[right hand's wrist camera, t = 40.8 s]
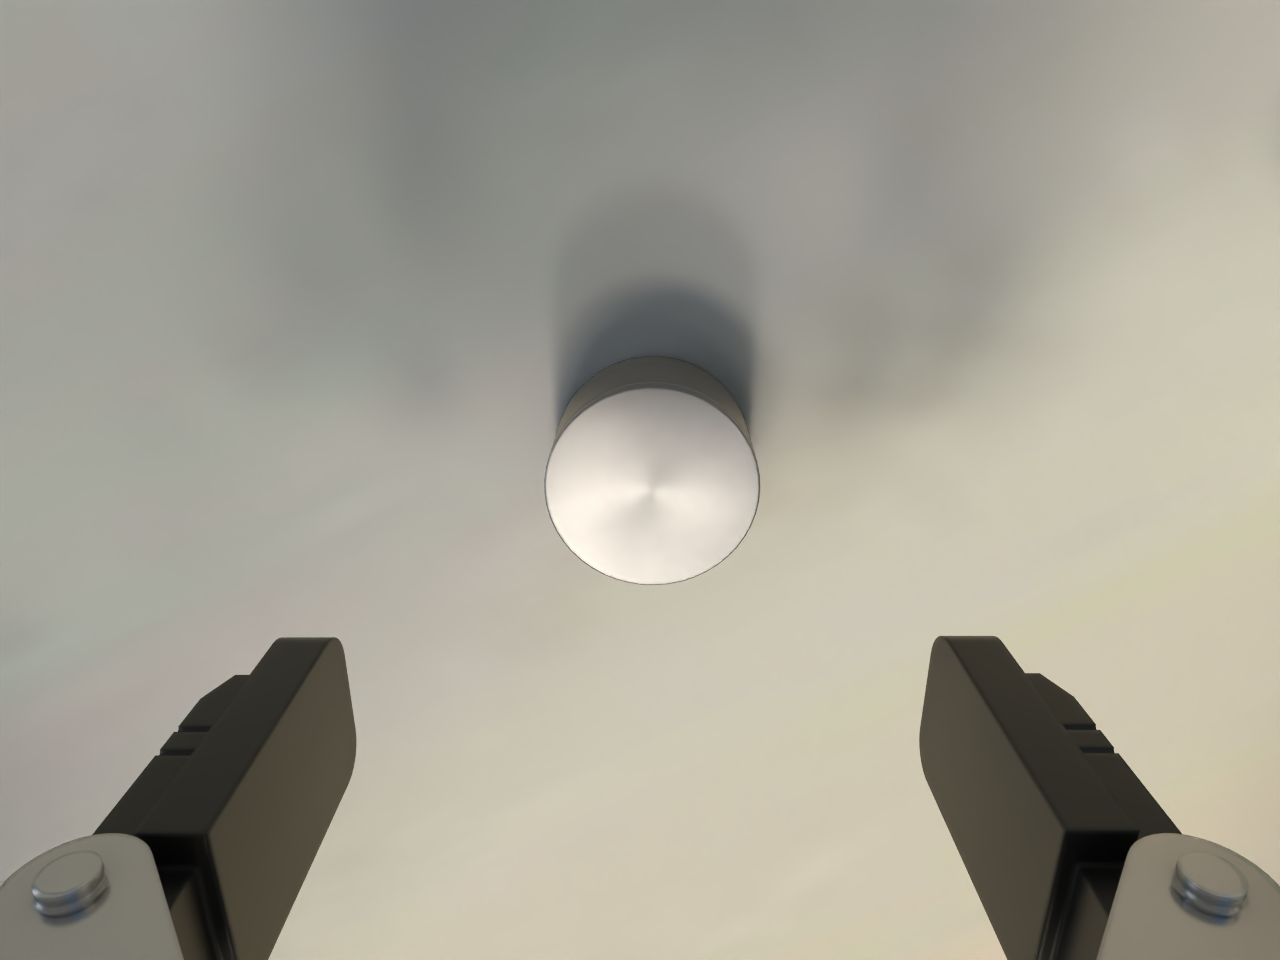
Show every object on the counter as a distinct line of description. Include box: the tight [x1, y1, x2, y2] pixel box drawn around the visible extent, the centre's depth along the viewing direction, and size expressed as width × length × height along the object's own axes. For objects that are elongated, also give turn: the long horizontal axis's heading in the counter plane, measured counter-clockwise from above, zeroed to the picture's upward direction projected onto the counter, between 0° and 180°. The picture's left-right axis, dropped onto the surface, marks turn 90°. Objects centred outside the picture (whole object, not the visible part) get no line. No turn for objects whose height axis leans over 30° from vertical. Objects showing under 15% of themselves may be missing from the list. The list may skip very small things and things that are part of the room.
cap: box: [545, 357, 760, 585], centre depth 18 cm, size 4×4×2 cm
